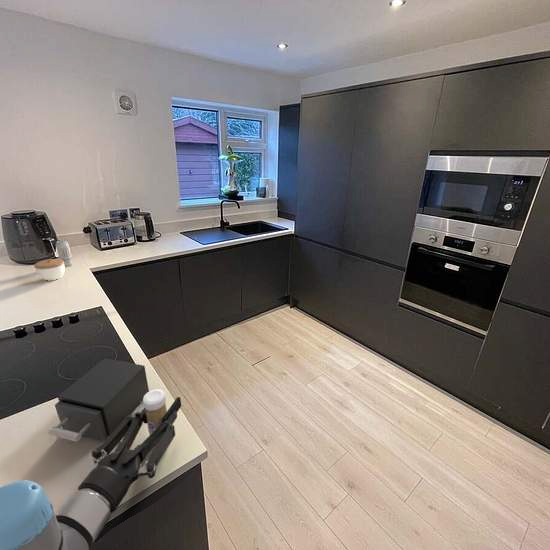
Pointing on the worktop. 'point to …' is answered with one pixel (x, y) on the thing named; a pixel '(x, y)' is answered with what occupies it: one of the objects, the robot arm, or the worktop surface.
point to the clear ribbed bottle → (64, 252)
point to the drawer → (78, 422)
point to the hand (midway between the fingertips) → (170, 399)
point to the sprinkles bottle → (154, 408)
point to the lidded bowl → (50, 269)
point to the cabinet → (110, 390)
